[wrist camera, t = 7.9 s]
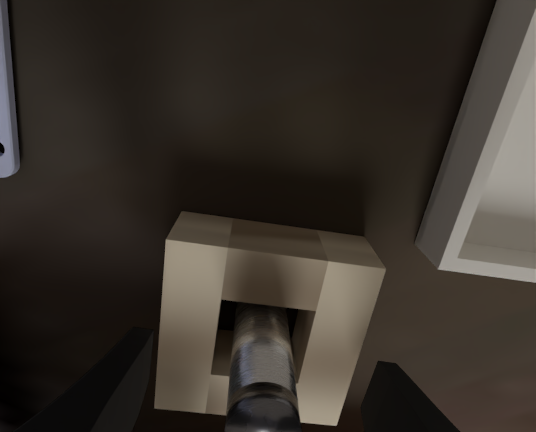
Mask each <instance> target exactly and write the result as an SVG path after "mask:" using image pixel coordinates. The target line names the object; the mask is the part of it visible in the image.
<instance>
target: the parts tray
mask: <svg viewBox="0 0 536 432" xmlns="http://www.w3.org/2000/svg"><path fill="white" fill-rule="evenodd" d="M414 244H415V245H416V246H417V247H418V248H419V249H420V250H421V252H422V253H423V254H424V255H425V256H426V257H427V258H428V259H429V260H430V261H431V262H432V263H433V264H434V265H435V267H436V268H437V269H440V270H447V271H454V272H462V273H469V274H476V275H484V276H491V277H499V278H506V279H513V280H521V281H528V282H535V283H536V0H497V1H496V4H495V7H494V10H493V13H492V15H491V18H490V21H489V24H488V27H487V30H486V33H485V36H484V39H483V42H482V45H481V48H480V51H479V54H478V57H477V60H476V63H475V66H474V69H473V72H472V75H471V78H470V81H469V83H468V86H467V89H466V92H465V95H464V98H463V101H462V104H461V107H460V110H459V113H458V116H457V119H456V122H455V125H454V128H453V131H452V134H451V137H450V140H449V143H448V146H447V149H446V152H445V154H444V157H443V160H442V163H441V166H440V169H439V172H438V175H437V178H436V181H435V184H434V187H433V190H432V193H431V196H430V199H429V202H428V205H427V208H426V211H425V214H424V217H423V220H422V222H421V225H420V228H419V231H418V234H417V237H416V240H415V243H414Z"/></svg>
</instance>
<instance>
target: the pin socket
mask: <svg viewBox="0 0 536 432" xmlns="http://www.w3.org/2000/svg"><path fill="white" fill-rule="evenodd" d="M385 271H386V268H385V266H384V265H383V263H382V262H381V260H380V259H379V257H378V256H377V254H376V253H375V251H374V250H373V248H372V247H371V245H370V244H369V242H368V241H367V239H366V238H365V237H363V236H356V235H349V234H342V233H334V232H327V231H320V230H313V229H306V228H299V227H292V226H285V225H278V224H271V223H264V222H256V221H249V220H242V219H235V218H228V217H221V216H214V215H207V214H200V213H193V212H186V211H181V213H180V215H179V217H178V219H177V220H176V222H175V224H174V226H173V228H172V229H171V231H170V233H169V235H168V237H167V238H166V245H165V260H164V274H163V288H162V303H161V317H160V331H159V346H158V360H157V375H156V389H155V403H154V408H155V409H165V410H175V411H186V412H196V413H207V414H217V415H226V409H227V398H228V387H229V377H230V366H231V355H232V344H233V333H234V331H229V330H220V329H218V323H219V316H220V308H221V301H222V300H229V301H237V302H245V303H254V304H262V305H270V306H278V307H286V308H295V309H298V313H297V318H296V322H295V327H294V331H293V335H292V338H290V342H291V350H292V358H293V366H294V374H295V382H296V390H297V398H298V406H299V414H300V422H301V423H311V424H322V425H332V426H337V423H338V420H339V417H340V413H341V410H342V407H343V404H344V401H345V398H346V395H347V391H348V388H349V385H350V382H351V379H352V376H353V372H354V369H355V366H356V363H357V360H358V357H359V353H360V350H361V347H362V344H363V341H364V338H365V334H366V331H367V328H368V325H369V322H370V319H371V316H372V312H373V309H374V306H375V303H376V300H377V297H378V293H379V290H380V287H381V284H382V281H383V278H384V274H385Z"/></svg>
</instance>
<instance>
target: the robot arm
mask: <svg viewBox="0 0 536 432" xmlns="http://www.w3.org/2000/svg"><path fill="white" fill-rule="evenodd" d="M0 143H1V144H2V145H3V146H4V149H5V152H4V154H3V153H1V152H0V178H1V177H8V176H11V175H13V174H15V173H17V171H18V170H19V167H20V157H19V145H18V132H17V120H16V107H15V95H14V83H13V70H12V58H11V46H10V33H9V21H8V8H7V0H0ZM153 335H154V330H151V329H144V328H137V327H133V328H132V329H130V330H129V331H128V332H127V333H126V334H125V336H124V337H123V338H122V339H121V340H120V341H119V342H118V343H117V344H116V345H115V346H114V347H113V348H112V349H111V350H110V351H109V352H108V353H107V354H106V355H105V356H104V357H103V358H102V359H101V360H100V361H99V362H98V363H97V364H95V365H94V366H93V367H92V368H91V369H90V370H89V371H88V372H87V373H86V374H85V375H84V376H83V377H81V378H80V379H79V380H78V381H77V382H76V383H74V384H73V385H72V386H71V387H70V388H69V389H67V390H66V391H65V392H64V393H63V394H61V395H60V396H59V397H58V398H57V399H55V400H54V401H53V402H52V403H50V404H49V405H48V406H47V407H45V408H44V409H43V410H41V411H40V412H39V413H38V414H36V415H35V416H34V417H32V418H31V419H29V420H28V421H27V422H25V423H24V424H23V425H21V426H20V427H18V428H17V429H16V430H14V431H13V432H132V429H133V427H134V425H135V422H136V420H137V417H138V415H139V412H140V409H141V406H142V402H143V399H144V396H145V392H146V389H147V386H148V382H149V375H150V365H151V355H152V345H153ZM361 413H362V419H363V426H364V431H365V432H460V431H459V430H458V429H457V428H456V427H455V426H454V425H453V424H452V423H451V422H450V421H449V420H448V419H447V418H446V416H445V415H444V414H443V413H442V412H441V411H440V410H439V409H438V408H437V407H436V406H435V405H434V404H433V403H432V401H431V400H430V399H429V398H428V397H427V396H426V395H425V394H424V393H423V392H422V390H421V389H420V388H419V387H418V386H417V385H416V384H415V383H414V382H413V381H412V380H411V378H410V377H409V376H408V375H407V374H406V373H405V372H404V371H403V370H402V369H401V368H400V367H399V366H398V365H397V364H396V363H390V362H383V361H378V362H377V365H376V368H375V370H374V373H373V376H372V378H371V381H370V384H369V386H368V389H367V392H366V394H365V397H364V400H363V402H362V405H361Z"/></svg>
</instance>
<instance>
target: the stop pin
mask: <svg viewBox="0 0 536 432" xmlns="http://www.w3.org/2000/svg"><path fill="white" fill-rule="evenodd" d="M224 432H302V430H301V422H300V414H299V406H298V398H297V390H296V382H295V374H294V366H293V358H292V350H291V342H290V334H289V326H288V319H287V311H286V307H278V306H270V305H262V304H254V303H245V302H237V301H236V312H235V323H234V333H233V344H232V355H231V366H230V377H229V387H228V398H227V409H226V420H225V431H224Z"/></svg>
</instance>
